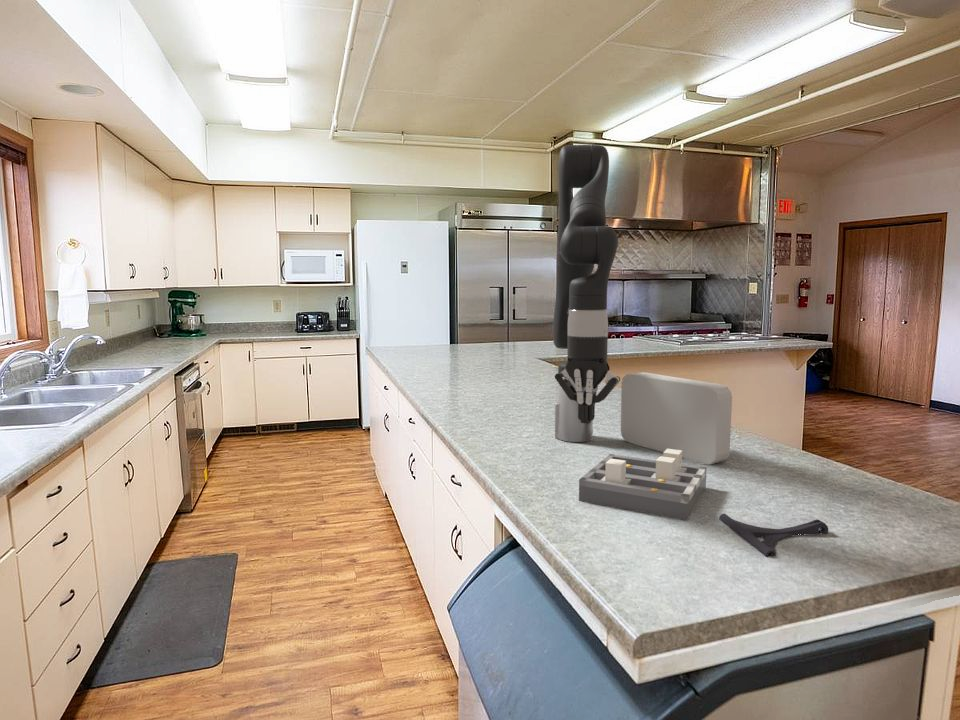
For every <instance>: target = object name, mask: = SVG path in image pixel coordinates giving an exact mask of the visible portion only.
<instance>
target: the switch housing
mask: <svg viewBox="0 0 960 720" xmlns="http://www.w3.org/2000/svg"><path fill="white" fill-rule="evenodd" d="M610 459H618V460H625V461H626V479H631V483H630V484H629V485H627V484H621V483H615V482H609V481H602V480H601V479H602V478H603V477H604V476H605V466H606V462H607V461H608V460H610ZM656 460H657V459H655V460H654V459H648V458H643V457H642V458H640V457H633V456H627V455H620V454H611V453H610V454H608V455H607V456H606V457H605V458H603V460H601V461H600V462H598V463H597V464H596V465H595V466H594V467H592V468H591V469H590V470H589V471H587V472H586V473H585V474H584V475H583V476H582V477H580V478H579V479H578V501H581V502H585V503H591V504H596V505H602V506H606V507H612V508H618V509H624V510H629V511H633V512H639V513H645V514H650V515H655V516H660V517H661V516H662V517H666V518H671V519H677V520H683V521H688V520H689V518H690V516H691V514H692V513H693V511H694V509H695V507H696V505H698V502H699V501H700V498H701V497H702V495H703V493H704V492H705V490H706V488H707V469H708V468H707V467H706V466H700V465H699V466H698V465H691V464H686V463H685V464H684V463H682V468H687V472H686V473H683V472H676V471H675V476H678V477H681V480H680V482H676V481H670V480H664V479H657V478H651V476H652V475H653V474H654V473H656Z"/></svg>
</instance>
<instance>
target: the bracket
mask: <svg viewBox="0 0 960 720" xmlns="http://www.w3.org/2000/svg"><path fill="white" fill-rule="evenodd" d="M718 519H719V521H720V522H722V523H723V524H724V525H725V526H727V528H729V529H730V530H731V531H732V532H734V533H735V534H737V535H738V536H739V537H740V538H742V539H743V540H744V541H745V542H746V543H748V544H749V545H750V546H752V547H753V548H754V549H755V550H757V551H758V552H759V553H760V554H762V556H765V557H766V558H768V557H769V554H770V555H772V556H773V557H777V556H776V555H777V551H776V546H777V544H778V543H779V542H780V541H782V540H784V539H786V537H787V538H790V537H793V535H797V536H805V535H804V534H815V535H827V534H828V533H829V526H828V525H827V524H826V522H824V521H822V520H820V519H817V518H816V519H813V520H811V521H808V522H805V523H802V524H801V523H800V524H799V525H794V526H790V527H783V528H770V527H768V528H767V527H762V526H757V525H752V524H749V523H744V522H741V521H739V520H736V519H733V518H732V517H730V516H729V515H728V514H727V513H721V514H720V515H719V517H718ZM821 530H822V531H821ZM818 531H820V532H821V533H822V534H820V533H819V532H818ZM826 533H827V534H826ZM798 534H799V535H798ZM800 534H801V535H800ZM759 537H760V538H763V540H760V539H759ZM778 541H779V542H778ZM777 542H778V543H777ZM775 545H776V546H775Z"/></svg>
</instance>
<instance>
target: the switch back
mask: <svg viewBox="0 0 960 720" xmlns="http://www.w3.org/2000/svg"><path fill="white" fill-rule="evenodd" d="M662 453H663V455H662V456H663V457H670V458H676V468H675V471H676V472H683V473H686V472H687V468H682V464H683V458H682V450H674V449H666V450H665V451H664V452H662Z"/></svg>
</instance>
